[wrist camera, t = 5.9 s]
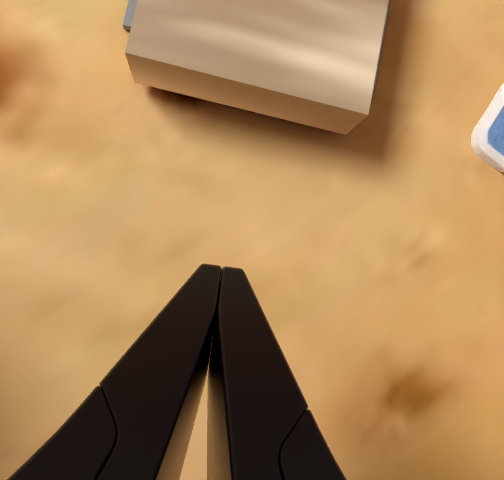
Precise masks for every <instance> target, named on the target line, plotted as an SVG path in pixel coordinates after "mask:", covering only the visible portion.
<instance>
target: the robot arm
mask: <svg viewBox="0 0 504 480" xmlns="http://www.w3.org/2000/svg"><path fill="white" fill-rule="evenodd" d="M221 272H222V273H221ZM219 287H220V288H219ZM212 338H213V339H212ZM211 345H212V346H211ZM210 352H211V353H210ZM209 359H210V361H209ZM208 365H209V370H208ZM207 371H208V418H207V480H346V478H345V476H344V474H343V473H342V471H341V469H340V468H339V466H338V464H337V462H336V461H335V459H334V457H333V455H332V453H331V451H330V449H329V447H328V445H327V443H326V441H325V439H324V437H323V435H322V434H321V432H320V430H319V427H318V425H317V423H316V421H315V419H314V417H313V415H312V413H311V411H310V410H307V409H308V405H307V403H306V401H305V398H304V396H303V394H302V392H301V390H300V388H299V386H298V384H297V382H296V380H295V377H294V375H293V373H292V371H291V369H290V367H289V365H288V363H287V361H286V359H285V356H284V354H283V352H282V350H281V348H280V346H279V344H278V342H277V340H276V338H275V335H274V333H273V331H272V329H271V327H270V325H269V323H268V321H267V319H266V317H265V314H264V312H263V310H262V308H261V306H260V304H259V302H258V300H257V298H256V296H255V293H254V291H253V289H252V287H251V285H250V283H249V281H248V279H247V277H246V275H245V272H244V271H243V270H242V269H240V268H233V267H223V269H222V268H221V267H220V266H218V265H211V264H202V265H200V266H199V267H198V269H197V270H196V271H195V272H194V273H193V274H192V276H191V277H190V278H189V279H188V280H187V281H186V283H185V284H184V285H183V286H182V287H181V288H180V290H179V291H178V292H177V293H176V294H175V295H174V297H173V298H172V299H171V300H170V301H169V302H168V304H167V305H166V306H165V307H164V308H163V309H162V311H161V312H160V313H159V314H158V315H157V316H156V318H155V319H154V320H153V321H152V322H151V323H150V325H149V326H148V327H147V328H146V329H145V331H144V332H143V333H142V334H141V335H140V336H139V338H138V339H137V340H136V341H135V342H134V343H133V345H132V346H131V347H130V348H129V349H128V350H127V352H126V353H125V354H124V355H123V356H122V357H121V359H120V360H119V361H118V362H117V363H116V364H115V366H114V367H113V368H112V369H111V370H110V371H109V373H108V374H107V375H106V376H105V377H104V378H103V380H102V381H101V382H100V386H97V387H96V388H95V389H94V390H93V391H92V392H91V393H90V395H89V396H88V397H87V398H86V399H85V400H84V402H83V403H82V404H81V405H80V406H79V407H78V408H77V409H76V411H75V412H74V413H73V414H72V415H71V416H70V417H69V418H68V419H67V420H66V422H65V423H64V424H63V425H62V426H61V427H60V428H59V429H58V430H57V431H56V432H55V433H54V434H53V435H52V436H51V437H50V438H49V439H48V440H47V441H46V442H45V443H44V444H43V445H42V446H41V447H40V448H39V449H38V450H37V451H36V452H35V453H34V454H33V455H32V456H31V457H30V458H29V459H28V460H27V461H26V462H25V463H24V464H23V465H22V466H21V467H20V468H19V469H18V470H17V471H16V472H15V473H14V474H13V475H12V476H10V477H9V478H8V479H7V480H179V478H180V474H181V470H182V467H183V463H184V459H185V455H186V452H187V448H188V444H189V440H190V437H191V433H192V429H193V425H194V422H195V418H196V414H197V410H198V407H199V403H200V399H201V395H202V392H203V388H204V384H205V380H206V376H207Z"/></svg>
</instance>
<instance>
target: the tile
mask: <svg viewBox="0 0 504 480" xmlns="http://www.w3.org/2000/svg"><path fill="white" fill-rule="evenodd" d="M388 1H389V0H138V1H137V5H136V9H135V13H134V17H133V21H132V26H131V30H130V34H129V38H128V42H127V46H126V51H125V54H126V57H127V60H128V63H129V66H130V70H131V73H132V76H133V79H134V82H135V83H139V84H143V85H147V86H151V87H155V88H159V89H163V90H167V91H171V92H175V93H179V94H184V95H188V96H192V97H196V98H200V99H204V100H208V101H212V102H216V103H220V104H224V105H228V106H232V107H236V108H240V109H244V110H248V111H252V112H256V113H260V114H264V115H268V116H272V117H276V118H280V119H284V120H288V121H292V122H296V123H300V124H304V125H308V126H312V127H316V128H320V129H324V130H328V131H332V132H336V133H341V134H345V135H347V134H348V133H349V132H350V131H351V130H352V129H353V128H355V127H356V126H357V125H358V124H359V123H360V122H361V121H362V120H363V119H365V118H366V117H367V116H368V115H369V109H370V104H371V98H372V92H373V87H374V81H375V75H376V70H377V64H378V58H379V52H380V47H381V41H382V35H383V30H384V24H385V18H386V13H387V7H388Z"/></svg>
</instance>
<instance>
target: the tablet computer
mask: <svg viewBox="0 0 504 480" xmlns="http://www.w3.org/2000/svg"><path fill="white" fill-rule="evenodd" d="M471 145H472V148H473V150H474V151H475V152H476V154H477V155H478V156H479V157H480V158H481V159H482V160H484V161H485V162H486V163H488V164H489V165H490V166H492V167H493V168H495V169H496V170H497V171H499V172H501V173H504V83H503V85H501V87H500V88H499V90H498V91H497V93H496V94H495V96H494V98H493V100H492V102H491V103H490V105H489V106H488V108H487V110H486V111H485V113H484V114H483V116H482V117H481V119H480V120H479V122H478V123H477V125H476V126H475V128H474V130H473V132H472V136H471Z"/></svg>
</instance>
